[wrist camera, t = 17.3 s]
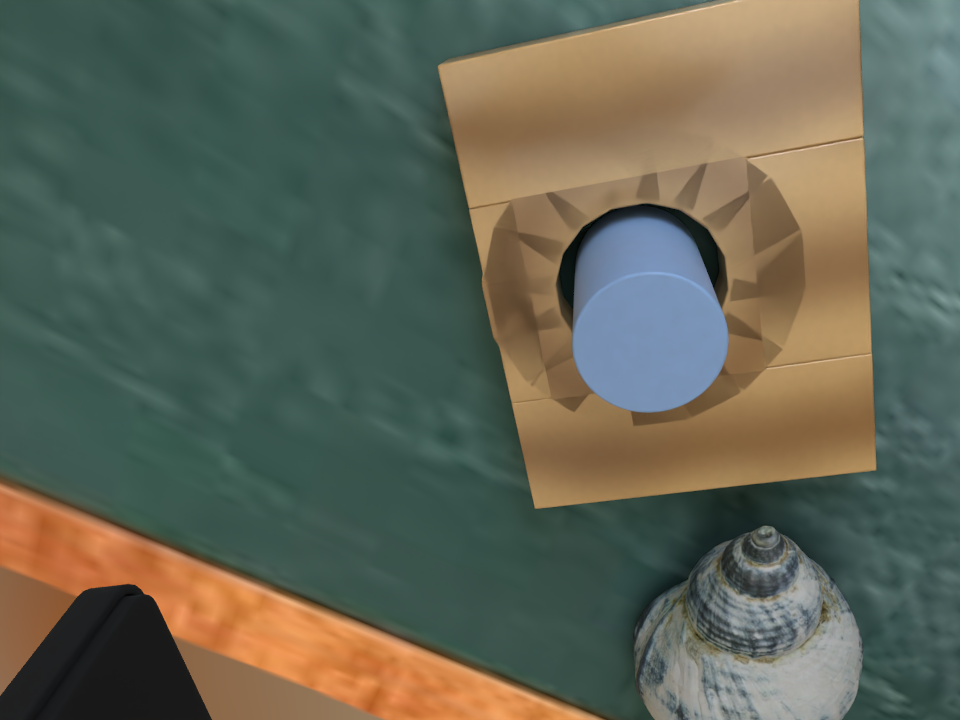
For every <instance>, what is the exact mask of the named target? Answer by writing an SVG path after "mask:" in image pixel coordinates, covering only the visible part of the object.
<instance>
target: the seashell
mask: <svg viewBox="0 0 960 720" xmlns="http://www.w3.org/2000/svg"><path fill="white" fill-rule="evenodd" d="M633 638H634V645H633V653H634V658H635V668H636V672H635V682H636V690H637V692H638V694H639V696H640V698H641V699H642V701H643V702H644V704H645V705H646V707H647V709H648V710H649V712H650V714H651V715H652V716H653V718H654V719H655V720H842V719H843V717H844V716H845V714H846V713H847V712H848V710H849V709H850V707H851V705H852V703H853V702H854V700H855V697H856V694H857V691H858V687H859V679H860V676H861V671H862V665H863V643H862V638H861V634H860V630H859V628H858V626H857V624H856V621H855V618H854V615H853V613H852V611H851V609H850V607H849V604H848V602H847V600H846V599H845V597H844V596H843V594H842V593H841V592H840V590H839V589H838V587H837V586H836V584H835V582H834V580H833V579H832V578H831V577H830V576H828V575H827V573H826V572H825V570H824V569H823V568H822V567H821V566H820V565H819V564H818V563H816V562H815V561H814V560H812V559H810V558H809V557H808V556H807V555H806V554H805V553H804V552H803V551H802V550H801V549H800V548H799V547H798V546H797V544H796V543H795V542H794V541H792V540H791V539H789V538H788V537H786V536H785V535H782V534H781V533H779V532H778V531H777V530H776V529H774V528H773V527H772V526H765V525H763V526H761V527H759V528H758V529H756V530H753V531H751V532H747V533H745V534H742V535H740V536H738V537H735V538H734V539H733V540H730V541H726V542H723V543H720V544H719V545H717V546H716V547H714V548H713V549H711V550H710V551H708V552H707V553H706V554H704V555H703V556H702V557H701V558H700V560H699V561H698V562H697V564H696V565H695V567H694V568H693V570H692V571H691V573H690V575H689V579H687V580H685V581H683V582H681V583H679V584H677V585H675V586H673V587H671V588H669V589H668V590H666V591H665V592H663V593H662V594H661V595H659V596H658V597H657V598H656V599H655V600H653V601H652V602H651V603H650V604H649V605H648V606H647V608H646V609H645V611H644V612H643V613H642V615H641V617H640V619H639V620H638V622H637V624H636V627H635V630H634V634H633Z"/></svg>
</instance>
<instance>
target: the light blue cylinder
mask: <svg viewBox="0 0 960 720" xmlns="http://www.w3.org/2000/svg"><path fill="white" fill-rule="evenodd" d="M728 344H729V336H728V328H727V323H726V320H725V317H724V314H723V311H722V309H721V306H720V304H719V301H718V299H717V296H716V293H715V291H714V288H713V286H712V283H711V281H710V278H709V275H708V273H707V270H706V268H705V265H704V263H703V260H702V257H701V255H700V252H699V250H698V247H697V245H696V242H695V240H694V238H693V236H692V234H691V232H690V231H689V230H688V228H687V227H686V226H685V225H684V224H683V223H682V222H681V221H680V220H679V219H678V218H676V217H675V216H673V215H672V214H670V213H668V212H666V211H664V210H661V209H658V208H654V207H649V206H630V207H625V208H621V209H618V210H615V211H613V212H611V213H609V214H607V215H605V216H603V217H602V218H601V219H599V220H598V221H597V222H596V223H595V224H594V225H592V226H591V228H590V229H589V230H588V231H587V233H586V234H585V236H584V237H583V239H582V241H581V243H580V245H579V248H578V251H577V256H576V264H575V286H574V307H573V329H572V352H573V358H574V362H575V365H576V367H577V370H578V372H579V374H580V376H581V377H582V379H583V381H584V382H585V383H586V384H587V386H588V387H589V388H590V389H591V390H592V391H593V392H594V393H595V394H596V395H598V396H599V397H600V398H602V399H603V400H605V401H607V402H608V403H610V404H612V405H614V406H617V407H619V408H622V409H625V410H629V411H635V412H645V413H652V412H662V411H667V410H671V409H674V408H677V407H680V406H682V405H684V404H687V403H689V402H690V401H692V400H694V399H695V398H697V397H698V396H699V395H701V394H702V393H703V392H704V391H705V390H706V389H707V388H708V387H709V386H710V385H711V384H712V383H713V382H714V380H715V379H716V378H717V376H718V374H719V373H720V371H721V369H722V367H723V365H724V362H725V359H726V356H727V352H728Z"/></svg>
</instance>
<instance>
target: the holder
mask: <svg viewBox="0 0 960 720" xmlns="http://www.w3.org/2000/svg"><path fill="white" fill-rule="evenodd" d="M438 71H439V76H440V80H441V85H442V90H443V94H444V99H445V103H446V108H447V112H448V117H449V121H450V126H451V130H452V135H453V139H454V144H455V148H456V153H457V157H458V162H459V166H460V171H461V176H462V180H463V185H464V189H465V194H466V198H467V203H468V207H469V208H470V209H469V212H470V217H471V222H472V226H473V231H474V235H475V240H476V244H477V249H478V253H479V258H480V262H481V267H482V271H483V276H482V281H481V282H482V289H483V293H484V298H485V302H486V307H487V311H488V316H489V320H490V325H491V329H492V334H493V338H495V341H496V342H497V344H498V345H499V348H500V353H501V357H502V362H503V366H504V371H505V375H506V380H507V384H508V389H509V393H510V398H511V402H512V407H513V411H514V416H515V421H516V425H517V430H518V434H519V439H520V443H521V448H522V452H523V457H524V461H525V466H526V470H527V475H528V479H529V484H530V488H531V493H532V497H533V502H534V506H535V509H539V508H547V507H556V506H565V505H574V504H583V503H592V502H600V501H609V500H618V499H627V498H636V497H645V496H653V495H662V494H671V493H680V492H689V491H698V490H706V489H715V488H724V487H733V486H742V485H751V484H759V483H768V482H777V481H786V480H795V479H804V478H812V477H821V476H830V475H839V474H848V473H857V472H865V471H874V470H876V445H875V417H874V389H873V361H872V353H871V352H872V341H871V313H870V285H869V257H868V230H867V202H866V174H865V146H864V138H863V137H862V136H863V135H864V118H863V91H862V63H861V35H860V8H859V0H715V1H710V2H706V3H701V4H697V5H692V6H688V7H683V8H678V9H674V10H669V11H665V12H660V13H656V14H651V15H646V16H642V17H637V18H633V19H628V20H624V21H619V22H614V23H610V24H605V25H601V26H596V27H592V28H587V29H582V30H578V31H573V32H569V33H564V34H560V35H555V36H550V37H546V38H541V39H537V40H532V41H528V42H523V43H518V44H514V45H509V46H505V47H500V48H496V49H491V50H486V51H482V52H477V53H473V54H468V55H464V56H459V57H454V58H450V59H448V60H446V61H444V62H443V63H441V64H440V65H438ZM645 203H649V204H654V205H658V206H663V207H668V208H673V209H678V210H681V211H682V212H684V213H685V214H687V215H688V216H689V217H691V218H692V219H694V220H695V221H697V222H698V223H699V224H701V225H702V226H704V227H705V228H707V229H708V231H709V232H710V234H711V236H712V237H713V239H714V241H715V242H716V244H717V251H718V260H719V269H720V271H719V274H718V277H717V280H716V284H715V287H714V291H715V293H716V296H717V299H718V301H719V304H720V306H721V309H722V311H723V314H724V317H725V320H726V323H727V328H728V336H729V344H728V352H727V356H726V359H725V362H724V365H723V367H722V369H721V371H720V373H719V374H718V376H717V378H716V379H715V380H714V382H713V383H712V384H711V385H710V386H709V387H708V388H707V389H706V390H705V391H704V392H703V393H702V394H701V395H699V396H698V397H697V398H695V399H694V400H692V401H690V402H689V403H687V404H684V405H682V406H680V407H677V408H674V409H671V410H667V411H662V412H652V413H645V412H635V411H629V410H625V409H622V408H619V407H617V406H614V405H612V404H610V403H608V402H607V401H605V400H603V399H602V398H600V397H599V396H598V395H596V394H595V393H594V392H593V391H592V390H591V389H590V388H589V387H588V386H587V384H586V383H585V382H584V381H583V379H582V377H581V376H580V374H579V372H578V370H577V367H576V365H575V362H574V358H573V352H572V329H573V309H572V308H571V306H570V305H569V303H568V302H567V300H566V299H565V297H564V296H563V292H562V286H561V281H560V275H559V270H560V266H561V261H562V257H563V254H564V252H565V251H566V250H567V248H568V247H569V245H570V244H571V243H572V241H573V240H574V239H575V237H576V236H577V235H578V233H579V232H580V230H581V229H582V228H583V227H584V226H586V225H587V224H589V223H590V222H592V221H594V220H595V219H597V218H599V217H600V216H602V215H603V214H605V213H607V212H608V211H610V210H612V209H617V208H622V207H628V206H634V205H639V204H645Z"/></svg>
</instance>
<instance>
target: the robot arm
mask: <svg viewBox="0 0 960 720" xmlns="http://www.w3.org/2000/svg"><path fill="white" fill-rule="evenodd" d="M0 720H212V719H211V717H210V715H209V713H208V711H207V709H206V706H205V704H204V702H203V700H202V698H201V696H200V694H199V692H198V690H197V688H196V685H195V683H194V681H193V679H192V677H191V675H190V673H189V671H188V669H187V667H186V664H185V662H184V660H183V658H182V656H181V654H180V652H179V650H178V648H177V646H176V643H175V641H174V639H173V637H172V635H171V633H170V631H169V629H168V627H167V624H166V622H165V620H164V618H163V616H162V614H161V612H160V610H159V608H158V606H157V603H156V602H155V600H154V599H153V598H152V597H151V596H149V595H144V593H143V592H142V590H141V589H140V588H138V587H137V586H135V585H131V584H126V585H117V586H108V587H99V588H91V589H88V590H85V591H83V592H82V593H81V594H80V595H79V596H78V597H77V598H76V599H75V601H74V602H73V603H72V605H71V606H70V607H69V608H68V610H67V611H66V612H65V614H64V615H63V616H62V617H61V619H60V620H59V621H58V622H57V624H56V625H55V626H54V628H53V629H52V630H51V631H50V633H49V634H48V635H47V637H46V638H45V639H44V641H43V642H42V643H41V644H40V646H39V647H38V648H37V649H36V651H35V652H34V653H33V655H32V656H31V657H30V658H29V660H28V661H27V662H26V664H25V665H24V666H23V668H22V669H21V670H20V671H19V673H18V674H17V675H16V676H15V678H14V679H13V680H12V682H11V683H10V684H9V685H8V687H7V688H6V689H5V691H4V692H3V693H2V694H1V696H0Z"/></svg>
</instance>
